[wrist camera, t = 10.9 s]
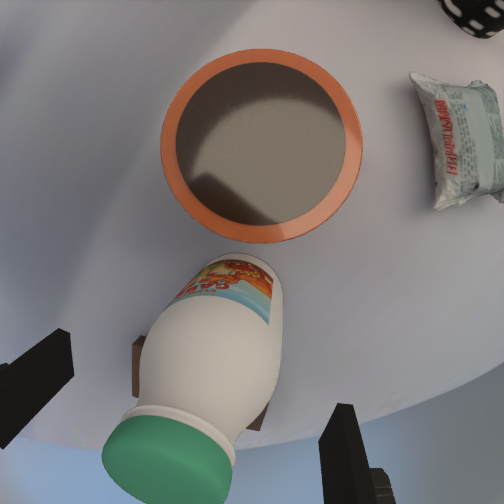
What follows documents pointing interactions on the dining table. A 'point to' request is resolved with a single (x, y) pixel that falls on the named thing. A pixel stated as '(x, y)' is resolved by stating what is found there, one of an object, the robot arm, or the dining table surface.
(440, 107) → the packaged food
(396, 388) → the dining table surface
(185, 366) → the milk bottle
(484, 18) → the white-spotted black cylinder
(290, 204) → the flower pot
